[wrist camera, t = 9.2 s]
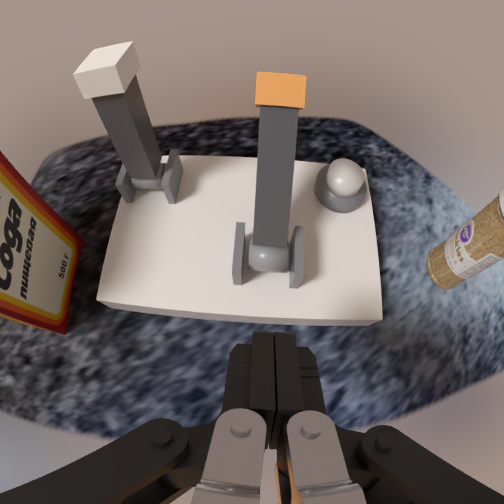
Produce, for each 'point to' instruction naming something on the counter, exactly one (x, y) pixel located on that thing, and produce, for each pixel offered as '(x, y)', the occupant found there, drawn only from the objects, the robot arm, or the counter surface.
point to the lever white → (123, 110)
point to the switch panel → (244, 246)
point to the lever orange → (275, 168)
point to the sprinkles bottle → (470, 247)
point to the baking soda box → (34, 256)
